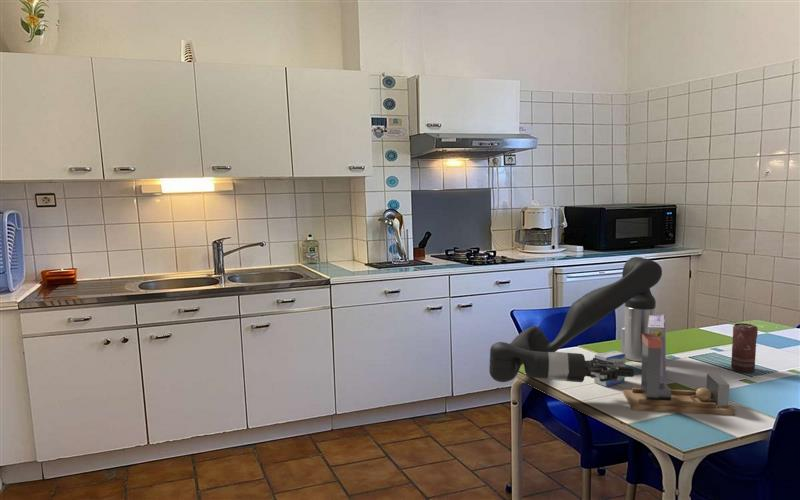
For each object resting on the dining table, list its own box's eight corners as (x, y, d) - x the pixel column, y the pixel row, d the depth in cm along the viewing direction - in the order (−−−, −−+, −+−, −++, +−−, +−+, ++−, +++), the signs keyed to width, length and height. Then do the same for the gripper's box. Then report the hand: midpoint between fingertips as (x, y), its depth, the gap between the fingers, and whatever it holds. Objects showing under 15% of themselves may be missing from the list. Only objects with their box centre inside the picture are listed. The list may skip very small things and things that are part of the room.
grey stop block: (717, 407, 139) (718, 384, 138) (706, 395, 147) (707, 373, 146) (728, 407, 138) (729, 384, 138) (716, 395, 146) (717, 373, 145)
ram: (646, 400, 143) (648, 340, 141) (640, 391, 149) (642, 333, 147) (671, 401, 142) (673, 340, 140) (664, 392, 148) (666, 334, 146)
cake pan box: (647, 367, 173) (649, 311, 171) (665, 369, 171) (667, 313, 169) (645, 387, 156) (647, 326, 154) (665, 390, 154) (667, 328, 152)
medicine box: (605, 387, 157) (606, 357, 156) (593, 382, 161) (594, 353, 160) (625, 382, 161) (625, 353, 160) (612, 377, 165) (613, 349, 164)
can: (759, 373, 165) (761, 328, 164) (735, 372, 167) (738, 327, 165) (750, 367, 171) (753, 323, 170) (728, 366, 173) (730, 322, 171)
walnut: (692, 400, 144) (693, 387, 143) (699, 397, 146) (700, 384, 145) (706, 404, 141) (707, 391, 140) (713, 401, 143) (714, 388, 142)
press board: (632, 409, 141) (632, 401, 141) (623, 393, 152) (623, 386, 152) (734, 415, 137) (735, 406, 137) (718, 398, 148) (718, 390, 147)
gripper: (561, 372, 155) (626, 377, 152) (567, 388, 142) (638, 395, 139) (563, 346, 154) (628, 351, 151) (569, 360, 141) (640, 366, 138)
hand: (633, 372), depth 145 cm, fingers closed
